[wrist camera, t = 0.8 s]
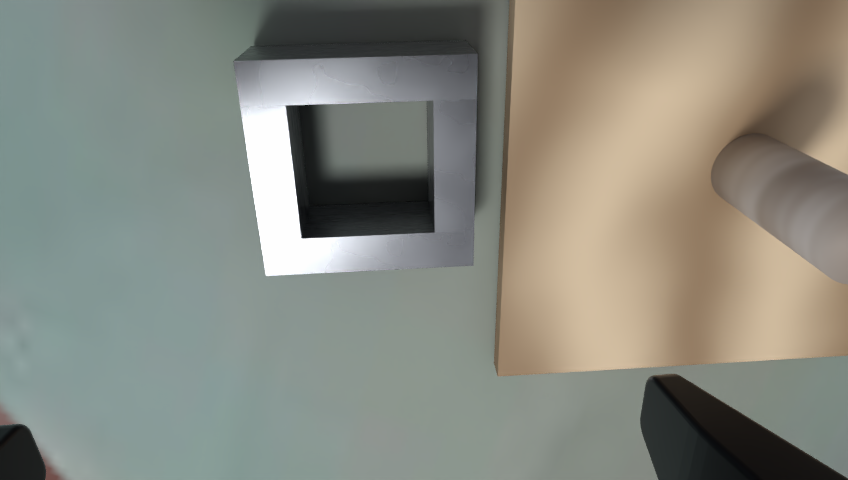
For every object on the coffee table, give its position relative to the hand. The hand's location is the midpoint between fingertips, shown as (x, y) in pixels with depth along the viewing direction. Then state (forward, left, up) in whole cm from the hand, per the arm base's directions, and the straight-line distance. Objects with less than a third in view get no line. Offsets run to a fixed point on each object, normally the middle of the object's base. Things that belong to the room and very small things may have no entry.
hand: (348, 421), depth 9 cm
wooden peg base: (-13, +1, -12) cm, 17 cm away
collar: (0, 0, -12) cm, 12 cm away
